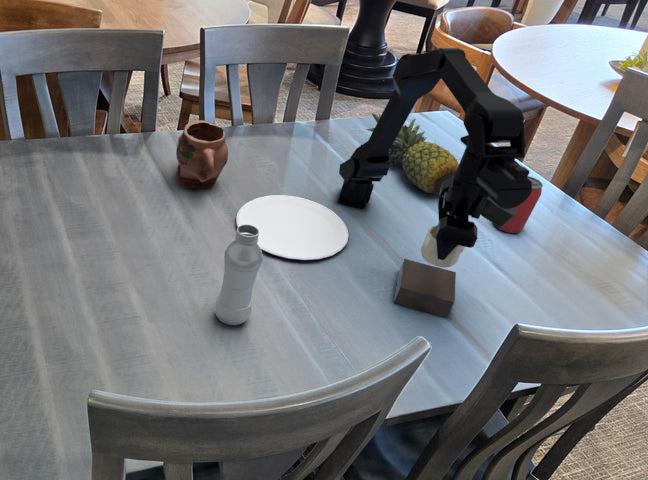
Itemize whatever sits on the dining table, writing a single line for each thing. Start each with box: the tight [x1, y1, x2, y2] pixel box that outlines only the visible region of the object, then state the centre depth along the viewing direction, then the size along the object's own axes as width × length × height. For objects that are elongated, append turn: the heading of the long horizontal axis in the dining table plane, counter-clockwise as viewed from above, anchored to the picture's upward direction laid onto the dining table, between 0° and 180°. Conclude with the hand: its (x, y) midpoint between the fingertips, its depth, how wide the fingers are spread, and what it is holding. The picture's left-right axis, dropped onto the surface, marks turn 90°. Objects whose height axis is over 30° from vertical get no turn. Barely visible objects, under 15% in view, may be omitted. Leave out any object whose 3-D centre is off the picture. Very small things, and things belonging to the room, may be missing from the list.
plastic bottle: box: [214, 225, 264, 326], centre depth 111 cm, size 6×7×20 cm
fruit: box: [364, 110, 459, 195], centre depth 162 cm, size 14×12×30 cm
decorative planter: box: [175, 119, 229, 190], centre depth 150 cm, size 20×12×14 cm, turn 13°
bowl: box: [420, 224, 465, 268], centre depth 119 cm, size 7×7×5 cm
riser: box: [393, 258, 457, 318], centre depth 125 cm, size 10×10×4 cm
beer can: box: [493, 175, 544, 234], centre depth 143 cm, size 7×7×12 cm
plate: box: [235, 194, 349, 261], centre depth 141 cm, size 25×25×1 cm
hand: (441, 248), depth 119 cm, fingers closed on bowl, 7 cm apart
